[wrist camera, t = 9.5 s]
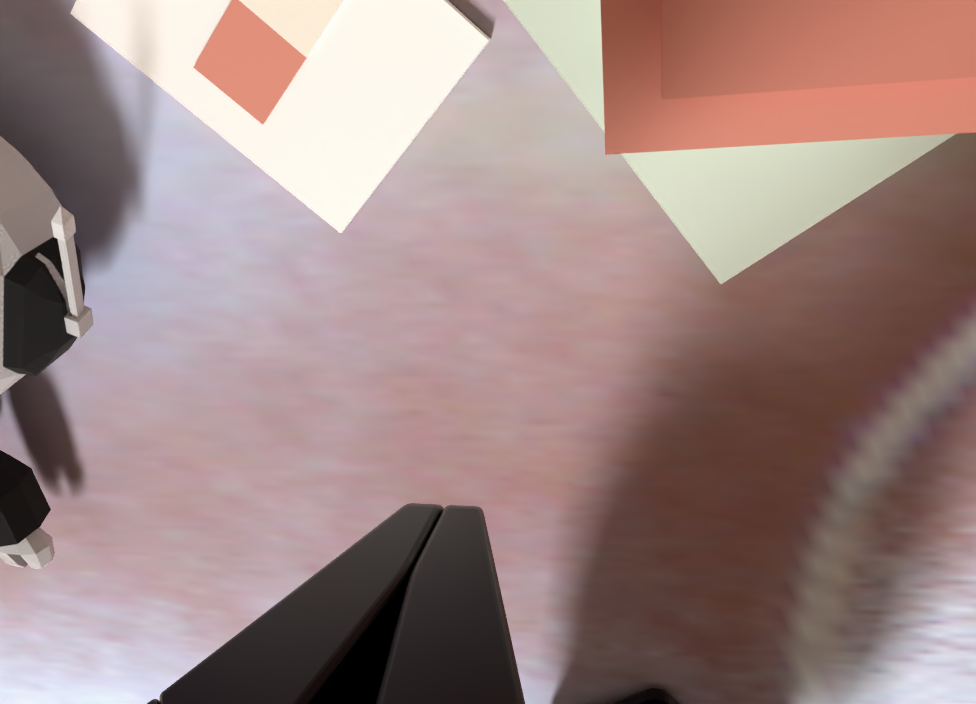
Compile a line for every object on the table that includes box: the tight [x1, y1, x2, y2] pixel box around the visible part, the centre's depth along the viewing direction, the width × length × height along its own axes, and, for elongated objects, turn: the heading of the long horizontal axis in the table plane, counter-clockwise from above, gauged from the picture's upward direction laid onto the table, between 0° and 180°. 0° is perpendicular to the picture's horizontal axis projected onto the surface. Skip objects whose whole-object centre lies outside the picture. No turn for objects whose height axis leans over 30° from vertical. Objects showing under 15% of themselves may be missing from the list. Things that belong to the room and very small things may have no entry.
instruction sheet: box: [70, 0, 491, 233], centre depth 18 cm, size 8×6×1 cm
